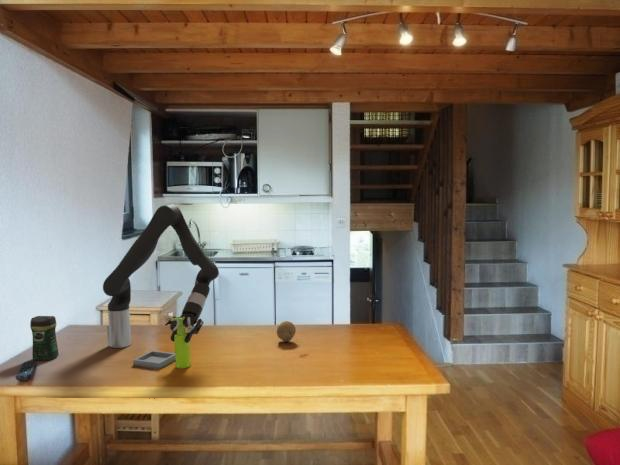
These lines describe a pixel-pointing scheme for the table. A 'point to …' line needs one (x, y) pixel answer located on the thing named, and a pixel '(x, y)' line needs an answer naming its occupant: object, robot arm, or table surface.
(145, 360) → the tray
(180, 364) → the soap dispenser
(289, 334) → the natural sponge
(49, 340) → the coffee jar
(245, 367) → the table surface
